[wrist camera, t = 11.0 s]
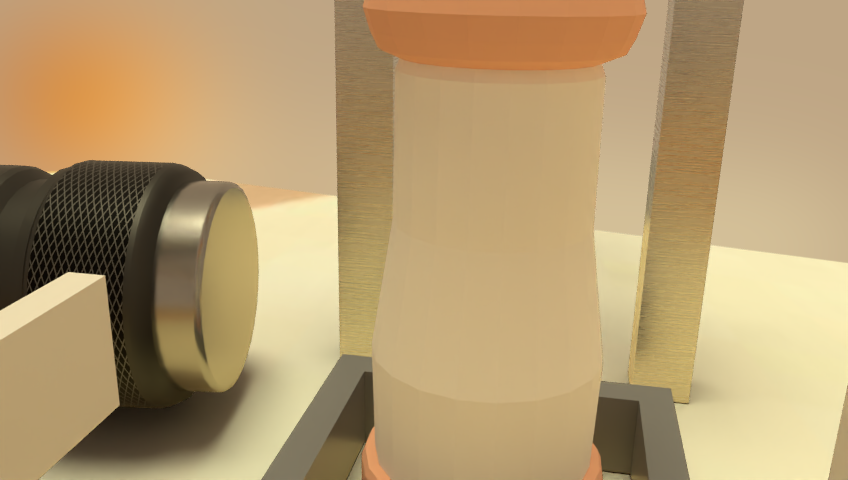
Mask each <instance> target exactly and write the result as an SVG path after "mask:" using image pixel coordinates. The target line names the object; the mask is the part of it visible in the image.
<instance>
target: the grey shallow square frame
mask: <svg viewBox="0 0 848 480" xmlns="http://www.w3.org/2000/svg"><path fill="white" fill-rule="evenodd" d="M373 427H374V397H373V367H372V357H366V356H357V355H347V354H342V356H341V357H340V359H339V360H338V362H337V363H336V365H335V367H334V368H333V370H332V371H331V373H330V374H329V376H328V377H327V379H326V380H325V382H324V384H323V385H322V387H321V388H320V390H319V391H318V393H317V394H316V396H315V397H314V399H313V401H312V402H311V404H310V405H309V407H308V408H307V410H306V411H305V413H304V414H303V416H302V418H301V419H300V421H299V422H298V424H297V425H296V427H295V428H294V430H293V431H292V433H291V435H290V436H289V438H288V439H287V441H286V442H285V444H284V445H283V447H282V448H281V450H280V452H279V453H278V455H277V456H276V458H275V459H274V461H273V462H272V464H271V465H270V467H269V469H268V470H267V472H266V473H265V475H264V476H263V478H262V479H261V480H346V479H347V477H348V475H349V473H350V471H351V469H352V467H353V465H354V463H355V460H356V458H357V456H358V454H359V452H360V450H361V448H362V446H363V444H364V442H365V441H367V439H368V436H369V434H370V432H371V430H372V428H373ZM593 444H594V445H595V447H596V448H597V450H598V452H599V454H600V456H601V466H602V470H603V471H611V472H619V473H627V474H631V480H690V478H689V474H688V469H687V464H686V459H685V454H684V449H683V444H682V440H681V435H680V430H679V425H678V420H677V415H676V411H675V406H674V401H673V396H672V391H671V388H662V387H653V386H643V385H634V384H624V383H614V382H605V381H601V383H600V390H599V398H598V405H597V413H596V421H595V428H594V436H593Z"/></svg>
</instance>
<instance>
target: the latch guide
mask: <svg viewBox="0 0 848 480" xmlns="http://www.w3.org/2000/svg"><path fill="white" fill-rule="evenodd" d="M363 3H364V0H335V58H336V59H335V60H336V61H335V63H336V124H337V125H336V128H337V190H338V191H337V192H338V257H339V322H340V357H341V356H342V354H347V355H357V356H366V357H372V339H373V333H374V327H375V321H376V315H377V309H378V303H379V297H380V291H381V285H382V279H383V273H384V267H385V262H386V256H387V250H388V244H389V238H390V232H391V226H392V220H393V161H394V95H395V67H396V65H397V63H398V60H399V58H398V57H396V56H393V55H391V54H389V53H387V52H384V51H382V50H381V49H380V48H378V47H377V45H376V42H375V40H374V38H373V36H372V34H371V32H370V29H369V26H368V23H367V20H366V16H365V13H364V10H363ZM743 4H744V0H669V2H668V11H667V20H666V29H665V38H664V47H663V56H662V57H663V58H662V66H661V76H660V84H659V93H658V102H657V111H656V120H655V130H654V139H653V148H652V157H651V167H650V175H649V185H648V194H647V204H646V212H645V221H644V230H643V239H642V248H641V258H640V267H639V276H638V285H637V294H636V303H635V312H634V322H633V331H632V340H631V349H630V358H629V367H628V376H629V384H634V385H643V386H653V387H662V388H671V391H672V396H673V401H674V402H680V403H689V396H690V389H691V382H692V375H693V367H694V360H695V353H696V345H697V338H698V331H699V324H700V316H701V309H702V302H703V295H704V287H705V280H706V273H707V265H708V258H709V251H710V244H711V236H712V229H713V222H714V215H715V207H716V199H717V193H718V185H719V178H720V171H721V164H722V156H723V149H724V141H725V135H726V127H727V120H728V113H729V105H730V98H731V91H732V84H733V76H734V68H735V61H736V54H737V47H738V40H739V33H740V25H741V18H742V11H743Z"/></svg>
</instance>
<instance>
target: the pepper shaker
mask: <svg viewBox="0 0 848 480" xmlns="http://www.w3.org/2000/svg"><path fill="white" fill-rule="evenodd" d="M363 10H364V13H365V16H366V20H367V23H368V26H369V29H370V32H371V34H372V36H373V38H374V40H375V42H376V45H377V47H378V48H380V49H381V50H382V51H384V52H387V53H389V54H391V55H393V56H396V57H398V58H399V60H398V63H397V65H396V67H395V95H394V161H393V220H392V226H391V232H390V238H389V244H388V250H387V256H386V262H385V267H384V273H383V279H382V285H381V291H380V297H379V303H378V309H377V315H376V321H375V327H374V333H373V339H372V367H373V397H374V427H373V428H372V430H371V432H370V434H369V436H368V439H367V441H366V444H365V446H364V449H363V451H362V480H603V476H602V466H601V456H600V454H599V452H598V450H597V448H596V447H595V445H594V444H593V436H594V428H595V421H596V413H597V405H598V398H599V390H600V383H601V375H602V367H603V355H602V342H601V328H600V314H599V300H598V287H597V273H596V259H595V246H594V232H593V231H594V219H595V207H596V206H595V205H596V194H597V181H598V169H599V157H600V145H601V132H602V119H603V107H604V95H605V82H606V75H605V72H604V69H603V66H602V64H603V63H606V62H608V61H611V60H614V59H616V58H620V57H622V56H625V55H627V53H628V52H629V50H630V48H631V47H632V45H633V43H634V42H635V40H636V38H637V36H638V33H639V31H640V29H641V26H642V24H643V21H644V19H645V16H646V14H647V13H646V7H645V1H644V0H364V3H363Z"/></svg>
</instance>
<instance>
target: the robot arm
mask: <svg viewBox="0 0 848 480" xmlns="http://www.w3.org/2000/svg"><path fill="white" fill-rule="evenodd" d="M119 405H120V403H119V394H118V385H117V376H116V367H115V358H114V350H113V341H112V332H111V323H110V314H109V305H108V296H107V287H106V279H105V275H95V274H84V273H73V272H68V273H66V274H64V275H62V276H60V277H59V278H57V279H55V280H53V281H52V282H50V283H48V284H46V285H45V286H43V287H41V288H39V289H38V290H36V291H34V292H32V293H30V294H29V295H27V296H25V297H23V298H22V299H20V300H18V301H16V302H15V303H13V304H11V305H9V306H7V307H6V308H4V309H2V310H0V480H38V479H39V478H41V477H42V476H43V475H44V474H45V473H46V472H47V471H48V470H49V469H50V468H51V467H53V466H54V465H55V464H56V463H57V462H58V461H59V460H60V459H61V458H62V457H64V456H65V455H66V454H67V453H68V452H69V451H70V450H71V449H72V448H73V447H74V446H76V445H77V444H78V443H79V442H80V441H81V440H82V439H83V438H84V437H85V436H87V435H88V434H89V433H90V432H91V431H92V430H93V429H94V428H95V427H96V426H98V425H99V424H100V423H101V422H102V421H103V420H104V419H105V418H106V417H107V416H108V415H110V414H111V413H112V412H113V411H114V410H115V409H116V408H117V407H118V406H119ZM828 480H848V386H847V391H846V396H845V401H844V405H843V410H842V415H841V420H840V425H839V430H838V434H837V439H836V444H835V449H834V454H833V459H832V464H831V468H830V473H829V478H828Z"/></svg>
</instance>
